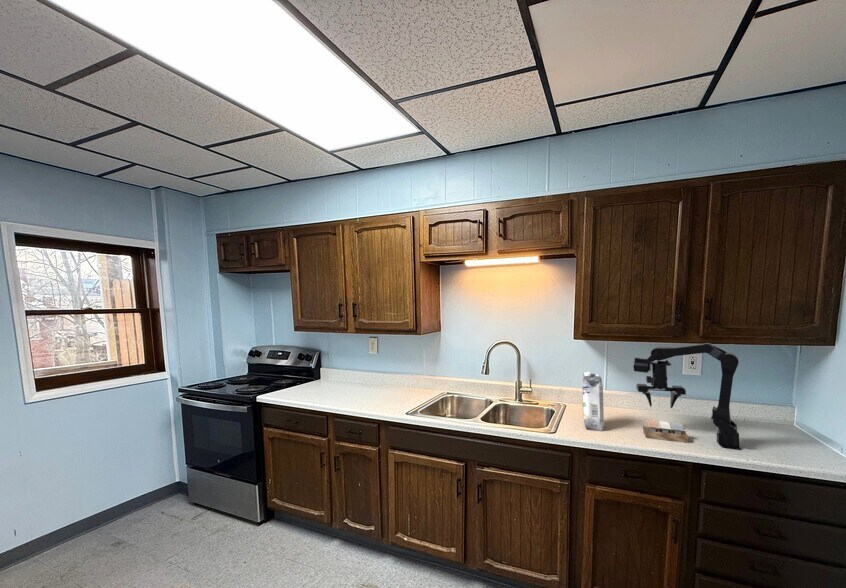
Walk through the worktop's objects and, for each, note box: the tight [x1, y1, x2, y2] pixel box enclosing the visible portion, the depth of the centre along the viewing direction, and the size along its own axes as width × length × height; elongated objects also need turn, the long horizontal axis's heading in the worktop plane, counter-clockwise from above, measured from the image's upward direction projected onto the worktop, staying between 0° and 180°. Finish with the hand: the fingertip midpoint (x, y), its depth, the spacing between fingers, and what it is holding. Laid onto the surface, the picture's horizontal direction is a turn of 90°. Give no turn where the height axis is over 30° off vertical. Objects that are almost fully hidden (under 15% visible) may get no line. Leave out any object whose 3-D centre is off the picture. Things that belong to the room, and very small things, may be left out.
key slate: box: [671, 422, 684, 434], centre depth 159 cm, size 3×3×5 cm
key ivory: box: [658, 420, 671, 433], centre depth 161 cm, size 3×3×5 cm
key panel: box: [642, 426, 690, 444], centre depth 161 cm, size 16×7×3 cm, turn 67°
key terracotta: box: [646, 419, 659, 432], centre depth 162 cm, size 3×3×5 cm
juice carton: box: [581, 371, 605, 432], centre depth 175 cm, size 9×10×27 cm
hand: (660, 407), depth 166 cm, fingers open, 8 cm apart
